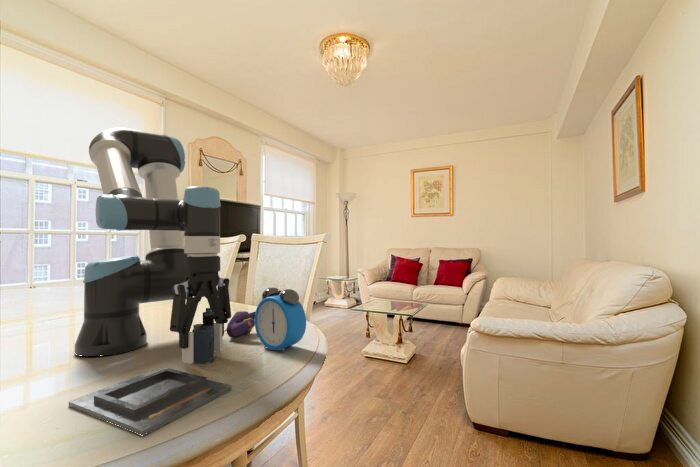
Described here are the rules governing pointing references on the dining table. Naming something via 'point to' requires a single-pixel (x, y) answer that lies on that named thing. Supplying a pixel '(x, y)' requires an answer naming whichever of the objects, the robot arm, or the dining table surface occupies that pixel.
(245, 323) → the toy
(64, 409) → the dining table surface
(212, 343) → the vaping device
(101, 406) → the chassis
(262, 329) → the alarm clock
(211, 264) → the robot arm
